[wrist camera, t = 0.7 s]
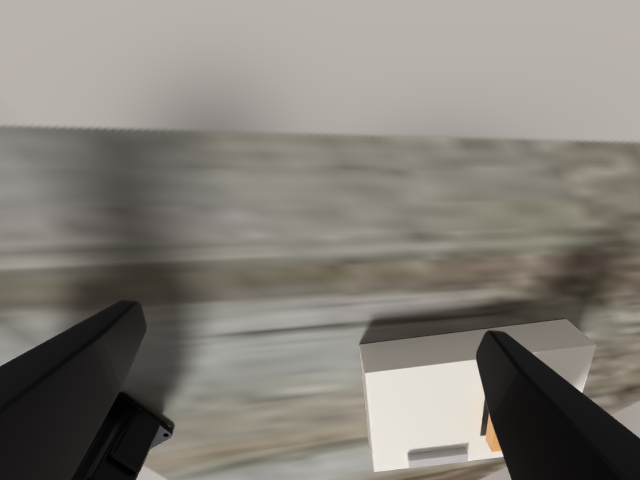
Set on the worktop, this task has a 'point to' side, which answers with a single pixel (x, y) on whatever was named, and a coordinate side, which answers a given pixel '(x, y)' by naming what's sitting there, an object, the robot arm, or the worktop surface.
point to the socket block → (449, 391)
